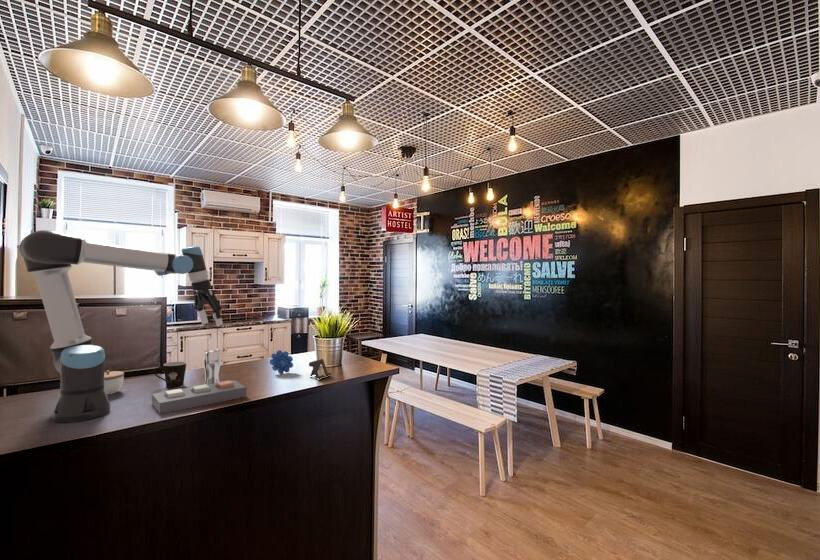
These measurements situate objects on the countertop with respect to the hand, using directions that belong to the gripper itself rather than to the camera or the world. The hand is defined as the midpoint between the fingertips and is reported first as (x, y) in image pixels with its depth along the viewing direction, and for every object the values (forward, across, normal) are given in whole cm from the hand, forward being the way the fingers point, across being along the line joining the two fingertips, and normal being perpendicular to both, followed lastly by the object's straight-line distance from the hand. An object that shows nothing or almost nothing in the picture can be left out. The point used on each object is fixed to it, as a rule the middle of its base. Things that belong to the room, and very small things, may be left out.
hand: (212, 324), depth 177 cm
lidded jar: (+16, +16, +41) cm, 47 cm away
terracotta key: (+22, -25, +14) cm, 36 cm away
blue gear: (+34, -13, -20) cm, 41 cm away
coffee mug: (+22, +6, +21) cm, 31 cm away
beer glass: (+25, -4, +9) cm, 27 cm away
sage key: (+19, -24, +22) cm, 38 cm away
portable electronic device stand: (+36, -33, -27) cm, 56 cm away
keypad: (+22, -24, +23) cm, 39 cm away
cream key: (+17, -22, +31) cm, 41 cm away
